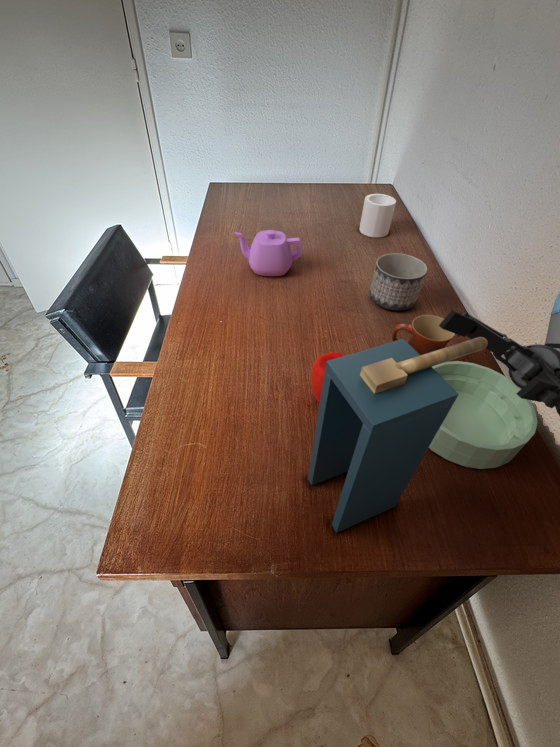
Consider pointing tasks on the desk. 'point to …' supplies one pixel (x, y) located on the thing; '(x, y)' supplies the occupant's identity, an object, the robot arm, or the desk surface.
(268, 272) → the teapot
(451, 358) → the wooden mallet
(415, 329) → the mug
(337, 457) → the teal arch block
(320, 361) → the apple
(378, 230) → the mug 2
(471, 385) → the bowl
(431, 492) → the desk surface
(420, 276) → the planter
